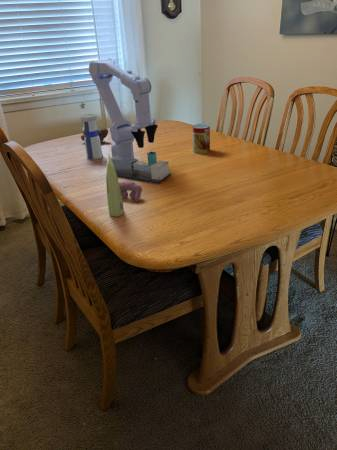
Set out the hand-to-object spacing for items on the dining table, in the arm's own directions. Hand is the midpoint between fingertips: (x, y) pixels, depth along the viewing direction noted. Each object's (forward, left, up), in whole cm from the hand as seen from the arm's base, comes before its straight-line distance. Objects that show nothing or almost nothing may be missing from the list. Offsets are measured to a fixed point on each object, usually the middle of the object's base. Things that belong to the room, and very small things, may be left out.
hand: (146, 145), depth 156 cm
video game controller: (+10, -29, -11) cm, 32 cm away
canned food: (+11, +30, -11) cm, 34 cm away
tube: (+14, -40, -11) cm, 43 cm away
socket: (+11, -8, -10) cm, 17 cm away
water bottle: (-33, +4, -11) cm, 35 cm away
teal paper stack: (+4, -8, -8) cm, 12 cm away
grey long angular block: (+1, -8, -10) cm, 13 cm away
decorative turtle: (-48, +23, -11) cm, 55 cm away
